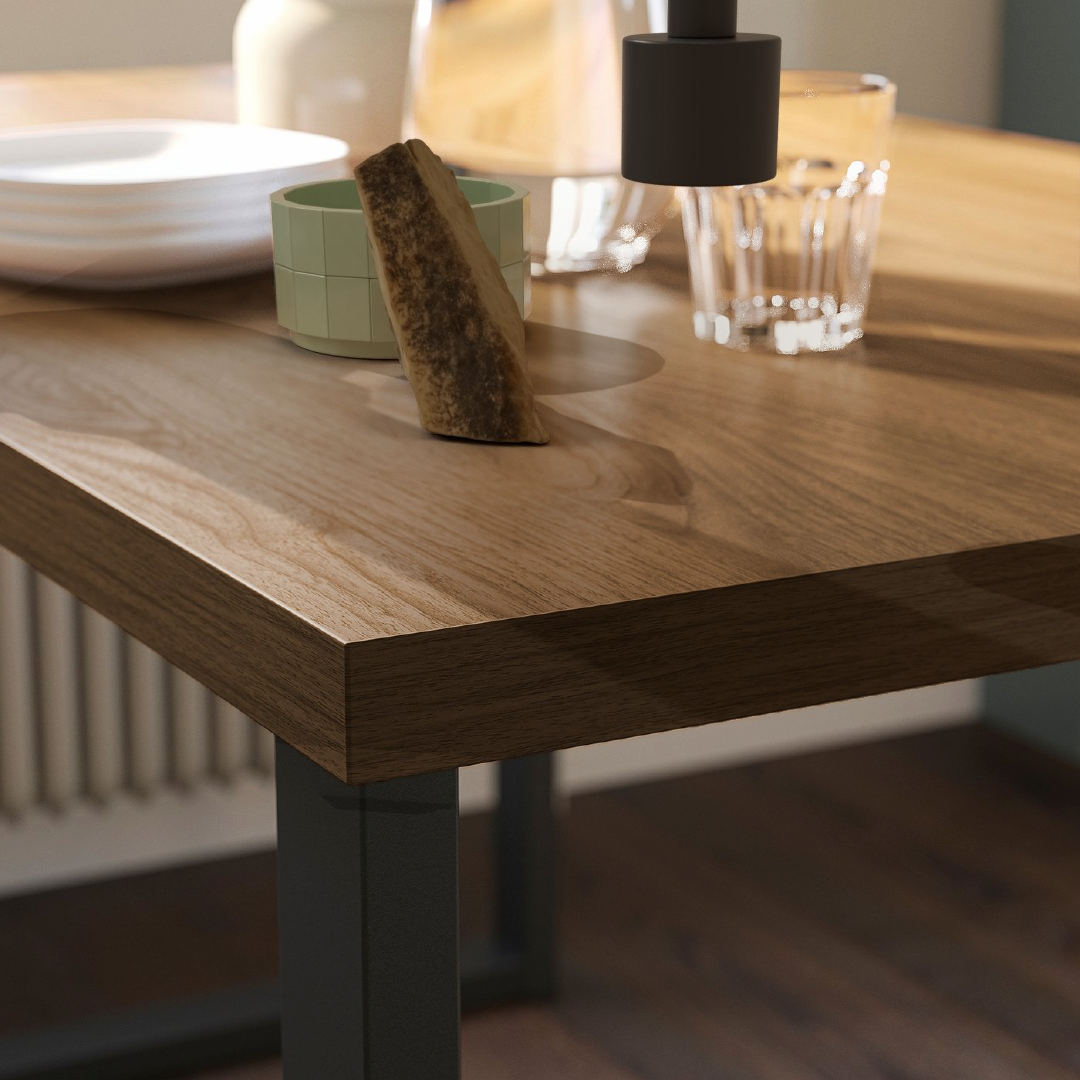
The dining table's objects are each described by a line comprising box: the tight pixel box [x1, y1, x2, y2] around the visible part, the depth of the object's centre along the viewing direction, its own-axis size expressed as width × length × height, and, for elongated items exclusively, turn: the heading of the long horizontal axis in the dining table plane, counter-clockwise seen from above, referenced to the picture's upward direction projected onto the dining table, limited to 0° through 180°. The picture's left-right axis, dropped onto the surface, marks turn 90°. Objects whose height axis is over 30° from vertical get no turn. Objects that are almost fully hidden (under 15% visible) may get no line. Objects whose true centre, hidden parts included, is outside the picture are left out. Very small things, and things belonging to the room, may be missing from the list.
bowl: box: [268, 175, 532, 360], centre depth 74 cm, size 11×11×6 cm
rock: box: [353, 138, 551, 445], centre depth 63 cm, size 11×9×10 cm
